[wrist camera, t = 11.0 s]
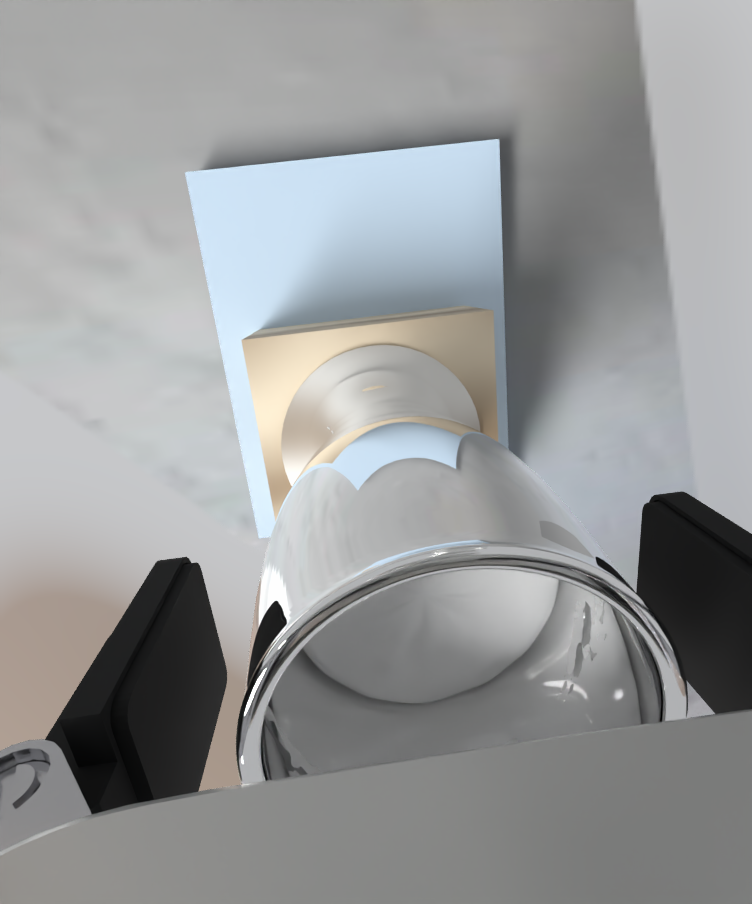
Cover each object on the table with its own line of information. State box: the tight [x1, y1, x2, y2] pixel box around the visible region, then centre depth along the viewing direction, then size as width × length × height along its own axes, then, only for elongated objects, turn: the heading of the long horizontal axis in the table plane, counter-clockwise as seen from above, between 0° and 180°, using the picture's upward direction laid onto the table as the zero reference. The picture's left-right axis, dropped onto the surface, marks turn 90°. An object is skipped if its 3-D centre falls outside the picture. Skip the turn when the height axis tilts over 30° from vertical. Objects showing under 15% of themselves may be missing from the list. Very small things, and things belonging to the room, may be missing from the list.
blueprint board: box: [185, 139, 508, 538], centre depth 26 cm, size 18×14×2 cm
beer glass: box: [236, 369, 688, 785], centre depth 14 cm, size 7×7×15 cm
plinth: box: [241, 306, 498, 521], centre depth 24 cm, size 10×10×5 cm
